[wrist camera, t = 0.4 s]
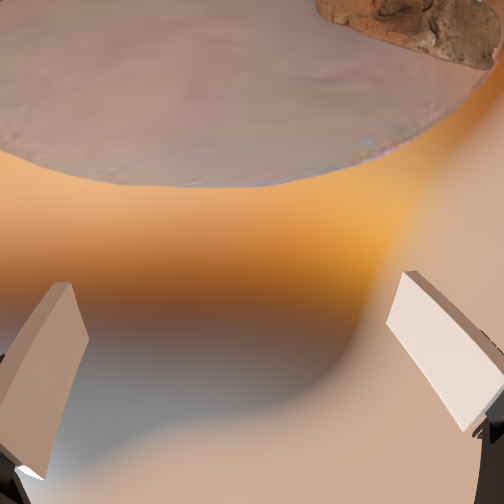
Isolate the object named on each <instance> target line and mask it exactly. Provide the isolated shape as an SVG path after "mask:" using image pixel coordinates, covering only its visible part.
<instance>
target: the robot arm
mask: <svg viewBox="0 0 504 504" xmlns="http://www.w3.org/2000/svg"><path fill="white" fill-rule="evenodd" d="M386 324H387V325H388V327H389V328H390V329H391V330H392V332H393V333H394V334H395V336H396V337H397V338H398V340H399V341H400V342H401V344H402V345H403V346H404V348H405V349H406V350H407V352H408V353H409V355H410V356H411V357H412V359H413V360H414V361H415V363H416V364H417V365H418V367H419V368H420V370H421V371H422V372H423V374H424V375H425V377H426V378H427V379H428V381H429V382H430V384H431V385H432V387H433V388H434V389H435V391H436V392H437V394H438V395H439V397H440V398H441V400H442V401H443V403H444V404H445V405H446V407H447V409H448V410H449V412H450V413H451V415H452V416H453V418H454V419H455V421H456V422H457V423H458V425H459V427H460V428H461V430H462V431H465V430H467V429H469V428H470V427H472V426H473V425H475V424H476V423H477V422H478V421H479V419H480V418H481V417H482V416H483V415H484V414H486V416H487V418H486V419H485V420H484V421H483V422H482V423H481V424H480V425H479V426H478V427H477V428H476V430H475V431H474V432H473V434H472V437H475V436H476V435H477V434H478V433H479V432H480V431H481V430H482V429H483V431H482V432H481V433H480V434H479V435H478V437H477V438H479V439H482V451H481V461H480V470H479V471H480V472H479V478H478V485H477V491H476V496H475V501H474V504H504V354H503V353H502V351H501V350H500V349H499V348H496V345H495V344H494V343H493V342H492V341H490V339H489V338H488V337H487V336H486V334H484V332H483V331H481V330H479V329H478V328H477V327H476V326H475V325H474V324H473V323H472V322H471V321H470V320H469V319H468V318H467V317H466V316H465V315H464V314H463V313H462V312H461V311H460V310H459V309H458V308H457V307H455V305H453V304H452V303H451V302H450V301H449V300H448V299H447V298H446V297H445V296H444V295H443V294H442V293H441V292H439V291H438V290H437V289H436V288H435V287H434V286H433V285H432V284H430V283H429V282H428V281H427V280H426V279H425V278H424V277H422V276H421V275H420V274H419V273H418V272H417V271H405V272H403V274H402V277H401V280H400V283H399V287H398V290H397V293H396V296H395V299H394V302H393V305H392V308H391V311H390V314H389V317H388V320H387V322H386ZM88 341H89V337H88V335H87V332H86V329H85V326H84V324H83V321H82V318H81V315H80V312H79V309H78V306H77V302H76V299H75V296H74V292H73V289H72V285H71V283H56V282H55V283H54V284H53V286H52V287H51V288H50V289H49V291H48V292H47V293H46V295H45V296H44V298H43V299H42V301H41V302H40V303H39V304H38V306H37V307H36V309H35V310H34V312H33V313H32V314H31V316H30V317H29V319H28V320H27V322H26V323H25V325H24V326H23V328H22V329H21V331H20V332H19V334H18V336H17V337H16V339H15V341H14V342H13V344H12V345H11V347H10V348H9V350H8V352H7V354H6V355H5V354H3V355H1V356H0V504H31V503H30V501H29V499H28V496H27V494H26V492H25V490H24V488H23V485H22V483H21V481H20V478H19V477H18V475H17V473H16V472H15V471H14V469H15V465H16V466H17V467H18V468H20V469H21V470H22V471H23V472H25V473H26V474H28V475H31V476H33V477H36V478H39V479H42V480H45V478H46V473H47V469H48V464H49V459H50V456H51V451H52V448H53V444H54V440H55V436H56V433H57V429H58V426H59V422H60V419H61V416H62V412H63V409H64V406H65V403H66V400H67V397H68V394H69V391H70V388H71V385H72V382H73V380H74V377H75V374H76V372H77V369H78V366H79V363H80V361H81V358H82V356H83V353H84V351H85V348H86V346H87V344H88Z"/></svg>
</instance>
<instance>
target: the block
mask: <svg viewBox="0 0 504 504" xmlns="http://www.w3.org/2000/svg"><path fill="white" fill-rule="evenodd" d="M315 1H316V6H317V10H318V13H319V15H320V17H321V18H323V19H324V20H326V21H328V22H331V23H334V24H338V25H343V26H346V27H349V28H352V29H354V30H356V31H357V32H359V33H361V34H364V35H366V36H369V37H372V38H374V39H377V40H380V41H383V42H386V43H389V44H392V45H395V46H399V47H402V48H405V49H408V50H412V51H415V52H419V53H424V54H428V55H430V56H433V57H435V58H438V59H441V60H444V61H448V62H452V63H458V64H462V65H465V66H468V67H471V68H474V69H479V70H488V69H491V67H492V65H493V59H492V54H493V52H494V47H498V45H499V43H500V38H501V24H500V20H499V18H498V16H497V14H496V13H495V11H494V10H493V9H491V8H490V7H489V6H487V5H486V4H484V3H482V2H480V1H478V0H315Z"/></svg>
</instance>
